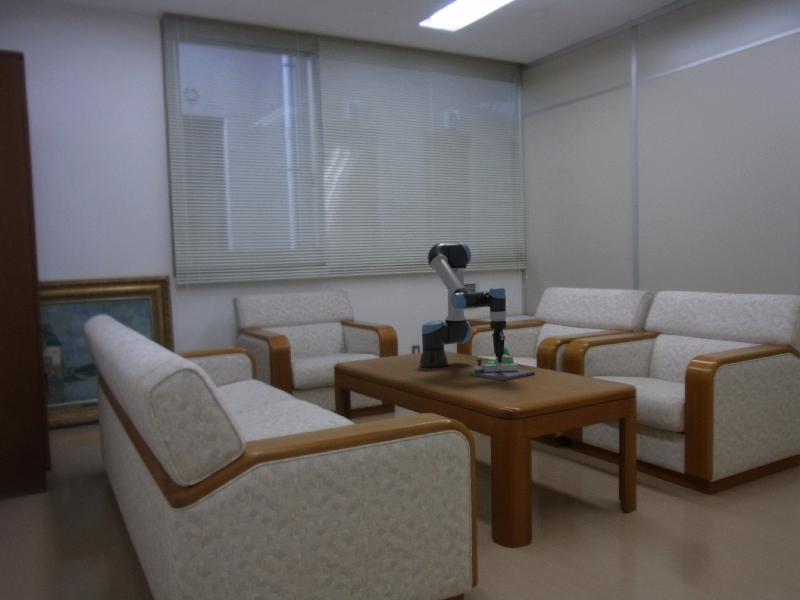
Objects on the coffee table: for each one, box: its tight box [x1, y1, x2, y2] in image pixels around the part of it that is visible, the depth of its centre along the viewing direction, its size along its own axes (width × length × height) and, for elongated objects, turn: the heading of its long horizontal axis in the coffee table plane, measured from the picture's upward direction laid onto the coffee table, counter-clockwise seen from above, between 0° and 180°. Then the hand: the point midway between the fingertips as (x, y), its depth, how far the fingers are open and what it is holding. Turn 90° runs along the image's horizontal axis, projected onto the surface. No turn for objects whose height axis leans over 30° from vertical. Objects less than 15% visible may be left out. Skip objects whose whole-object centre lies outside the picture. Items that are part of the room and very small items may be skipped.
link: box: [473, 358, 519, 372], centre depth 318 cm, size 20×5×6 cm, turn 89°
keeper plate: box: [468, 355, 536, 382], centre depth 316 cm, size 22×22×8 cm
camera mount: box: [486, 347, 515, 364], centre depth 341 cm, size 12×8×10 cm, turn 121°
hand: (499, 369), depth 315 cm, fingers closed
